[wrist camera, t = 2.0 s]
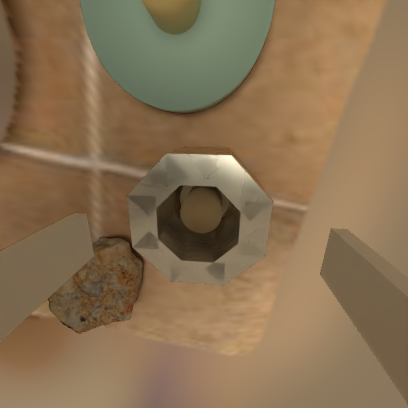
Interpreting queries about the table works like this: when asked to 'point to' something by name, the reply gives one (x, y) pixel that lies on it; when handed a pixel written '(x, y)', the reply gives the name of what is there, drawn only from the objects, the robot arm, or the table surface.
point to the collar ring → (192, 241)
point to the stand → (202, 207)
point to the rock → (100, 288)
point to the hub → (178, 47)
